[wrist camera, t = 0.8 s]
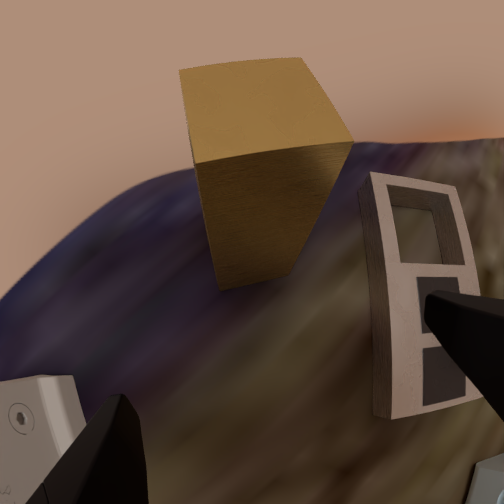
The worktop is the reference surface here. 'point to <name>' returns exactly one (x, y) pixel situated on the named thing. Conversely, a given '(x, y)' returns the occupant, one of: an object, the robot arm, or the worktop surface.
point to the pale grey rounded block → (488, 482)
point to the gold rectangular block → (261, 161)
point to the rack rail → (413, 297)
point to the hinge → (35, 431)
